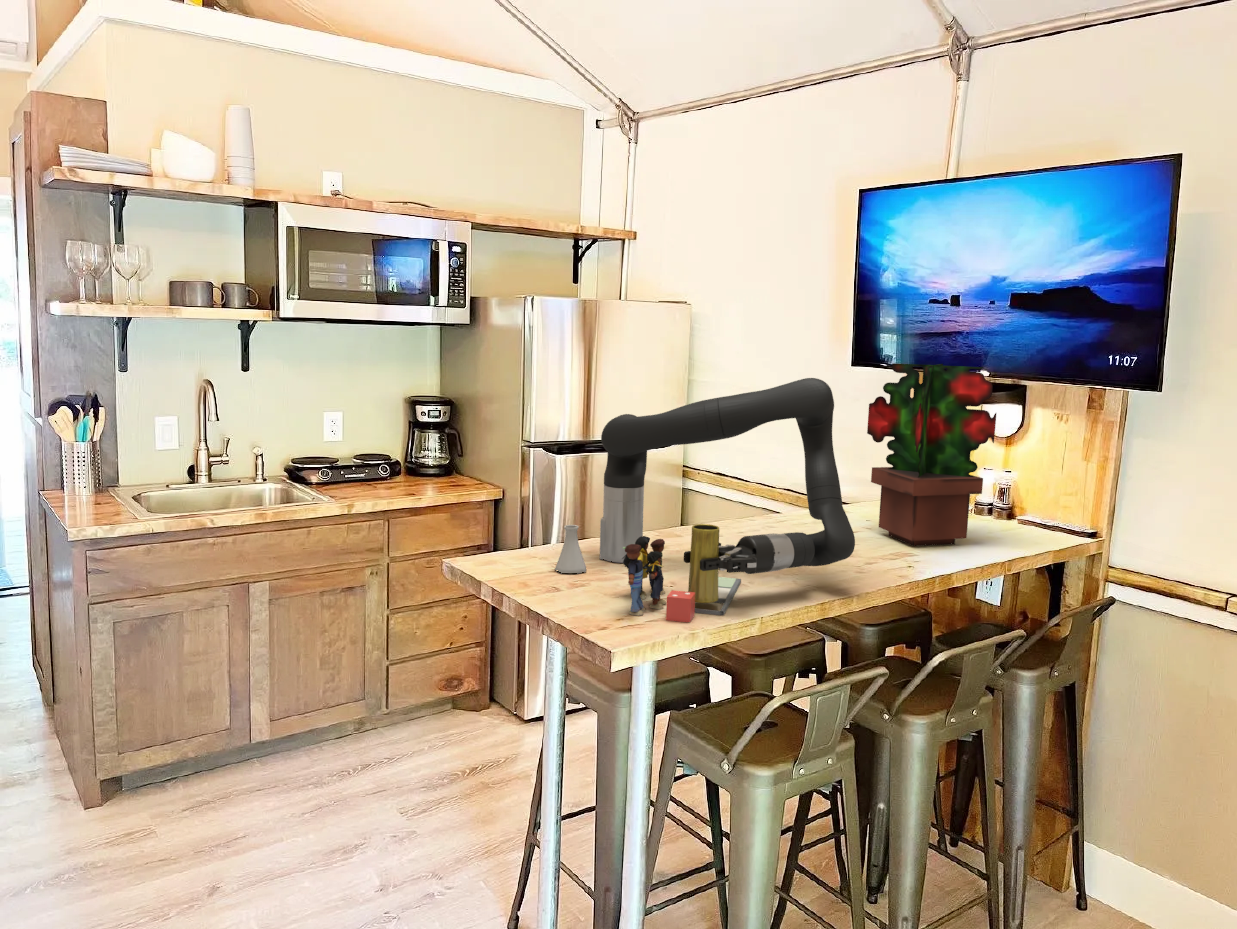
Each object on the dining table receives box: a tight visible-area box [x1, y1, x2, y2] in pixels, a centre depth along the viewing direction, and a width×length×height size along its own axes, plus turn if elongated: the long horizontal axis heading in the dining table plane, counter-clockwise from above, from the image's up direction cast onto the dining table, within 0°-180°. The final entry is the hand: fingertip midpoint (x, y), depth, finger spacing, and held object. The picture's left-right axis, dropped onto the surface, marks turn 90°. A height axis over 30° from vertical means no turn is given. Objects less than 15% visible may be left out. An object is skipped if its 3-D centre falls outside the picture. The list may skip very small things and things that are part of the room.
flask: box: [554, 524, 587, 574], centre depth 210 cm, size 7×7×10 cm
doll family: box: [622, 535, 667, 617], centre depth 188 cm, size 23×9×13 cm, turn 1°
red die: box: [665, 590, 696, 623], centre depth 179 cm, size 4×4×5 cm
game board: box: [695, 576, 742, 617], centre depth 194 cm, size 9×24×1 cm, turn 165°
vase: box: [687, 523, 720, 604], centre depth 185 cm, size 6×6×14 cm
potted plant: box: [866, 362, 997, 547], centre depth 245 cm, size 22×22×45 cm
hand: (693, 561), depth 184 cm, fingers closed on vase, 5 cm apart
